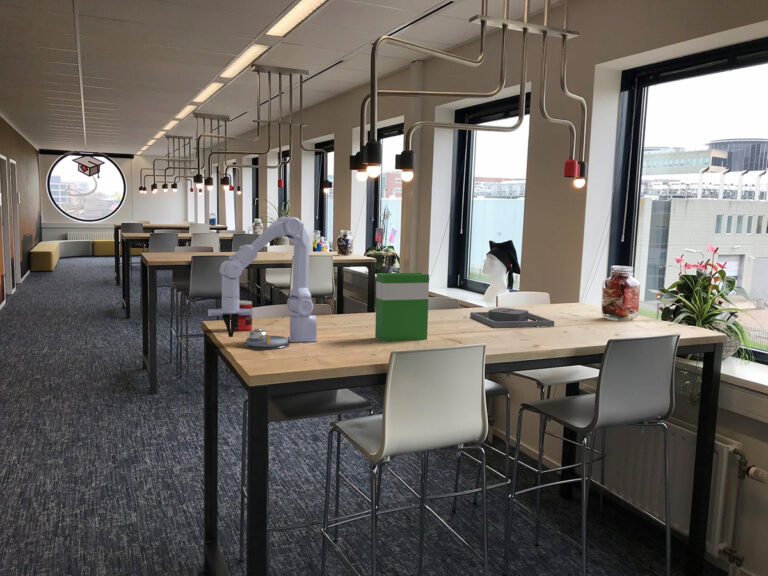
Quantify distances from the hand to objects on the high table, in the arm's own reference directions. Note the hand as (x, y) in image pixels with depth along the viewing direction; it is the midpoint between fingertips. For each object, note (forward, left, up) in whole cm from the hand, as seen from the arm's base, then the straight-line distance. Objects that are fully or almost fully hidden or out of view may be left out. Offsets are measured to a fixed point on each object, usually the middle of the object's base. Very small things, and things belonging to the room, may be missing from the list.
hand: (230, 336), depth 209 cm
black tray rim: (-119, -36, -3) cm, 124 cm away
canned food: (-4, -30, -3) cm, 30 cm away
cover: (-9, 0, -1) cm, 9 cm away
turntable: (-12, 0, -3) cm, 12 cm away
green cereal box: (-61, -6, -3) cm, 61 cm away
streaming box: (-118, -36, -4) cm, 124 cm away
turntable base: (-12, 0, -3) cm, 12 cm away
